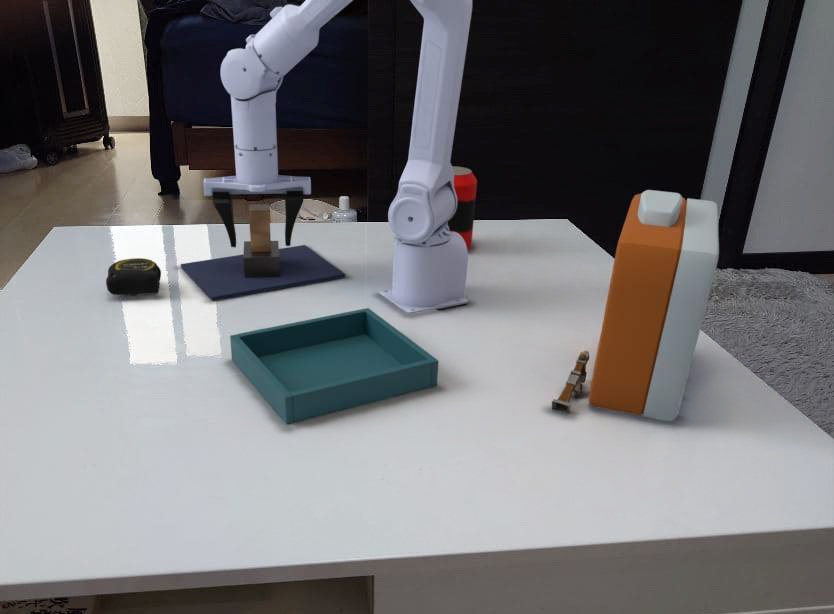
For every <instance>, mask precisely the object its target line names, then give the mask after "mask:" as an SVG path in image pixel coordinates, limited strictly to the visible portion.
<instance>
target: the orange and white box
mask: <svg viewBox="0 0 834 614" xmlns="http://www.w3.org/2000/svg"><path fill="white" fill-rule="evenodd" d="M719 238H720V237H719V208H718V203H716V202H715V201H713V200H705V199H696V198H687V199H686V198H685V197H683V196H682V195H681V194H680V193H678V192H672V191H661V190H653V189H646V190H645V191H643V192H642V193H637V194H635V195H634V196H633V198H632V199H631V202H630V205H629V208H628V211H627V214H626V217H625V220H624V223H623V226H622V229H621V232H620V235H619V238H618V242H617V246H616V250H615V255H614V261H613V266H612V270H611V271H612V272H611V277H610V282H609V288H608V292H607V296H606V303H605V309H604V313H603V320H602V325H601V330H600V337H599V340H598V346H597V350H596V356H595V361H594V367H593V372H592V377H591V381H590V388H589V394H588V401H589V405H591V406H592V407H595V408H599V409H604V410H610V411H612V412H613V411H614V412H620V413H625V414H630V415H634V416H635V415H636V416H639V417H640V416H641V415H642V417H645V418H650V419H656V420H659V421H664V422H665V421H666V422H670V421H675V420H676V418H677V417H678V416H679V412H680V408H681V405H682V401H683V397H684V393H685V389H686V386H687V382H688V378H689V374H690V370H691V366H692V363H693V358H694V354H695V352H696V347H697V343H698V339H699V335H700V331H701V328H702V324H703V320H704V316H705V314H706V313H705V312H706V308H707V306H708V302H709V298H710V293H711V290H712V286H713V282H714V279H715V275H716V270H717V266H718V262H719V258H720V257H719V255H720V241H719V240H720V239H719Z"/></svg>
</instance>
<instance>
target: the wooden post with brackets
mask: <svg viewBox="0 0 834 614" xmlns="http://www.w3.org/2000/svg"><path fill="white" fill-rule="evenodd" d="M589 361H590V352H589V351H588V350H583V351H580V352H579V355H578V358H577V359H576V361H575V366H574V368H573V369H571V371H570V373H569V376H568V378H567V380H566V381H565V386H564V389H563V391H562V392H561V394H560V395H559V396H558V397H557V399H556V398H553V399H552V400H551V409H552V410H553V409H559V410H563V411H565V412H568V413H570V412H571V403H570V401H571V398H575V397H579V396H580V395H579V394H580V391H582V390H583V384H585V382H586V381H587V374H588V373H587V372H588V371H587V364H588V363H589Z"/></svg>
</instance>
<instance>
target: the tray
mask: <svg viewBox="0 0 834 614" xmlns="http://www.w3.org/2000/svg"><path fill="white" fill-rule="evenodd" d="M229 341H230V351H231V352H230V353H231V361H232V362H233V363H234V364H235V365H236V367H237V368H238V370H240V372H241V373H242V374H243V375H244V377H246V379H247V380H248V381H249V382H250V383H251V385H252V386H253V387H254V388H255V389H256V391H257V392H258V393H259V395H261V397H263V399H264V400H265V401H266V402H267V404H268V405H269V406H270V407H271V408H272V409H273V411H274V412H275V413H276V414H277V415H278V417H279V418H280V419H281V420H282V422H284V424H285V425H290V424H294V423H298V422H302V421H306V420H310V419H314V418H317V417H318V418H319V417H321V416H326V415H329V414H333V413H336V412H341V411H345V410H348V409H352V408H356V407H360V406H364V405H368V404H372V403H375V402H380V401H383V400H387V399H392V398H395V397H398V396H403V395H407V394H411V393H415V392H418V391H423V390H426V389H430V388H435V387H437V386H438V377H439V375H438V374H439V373H438V372H439V361H440V360H439V359H437V358H436V357H435V356H433V355H432V354H430V353H429V352H428V351H427V350H425V349H424V348H423V347H421V346H420V345H418V344H417V343H416V342H415V341H413V340H412V339H411V338H409V337H408V336H406V335H405V334H404V333H402V332H401V331H400V330H398V329H397V328H396V327H395V326H393V325H392V324H391V323H389V322H388V321H387V320H385V319H384V318H382V317H381V316H380V315H378V314H377V313H376V312H375V311H373V310H372V309H370V308H369V307H367V308H366V307H365V308H361V309H355V310H351V311H346V312H340V313H336V314H331V315H326V316H319V317H316V318H311V319H305V320H300V321H295V322H291V323H286V324H281V325H275V326H270V327H265V328H261V329H256V330H251V331H250V330H249V331H244V332H241V333H236V334H231V335H230V336H229Z"/></svg>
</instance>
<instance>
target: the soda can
mask: <svg viewBox="0 0 834 614" xmlns="http://www.w3.org/2000/svg"><path fill="white" fill-rule="evenodd" d="M452 167H453V169H454V172H455V175H454V189H455V192H456V195H457V209H456V212H455V214H454V215H453V217H452V218H451V219H450V220H449V221H447V222H448V227H449V230H450V232H457V233H458V234H460V235H461V236H462V238H463V239H464V241H465V243H466V246H467V251H469V250H470V249H471V248H472V242H473V230H474V220H475V209H476V198H477V188H478V187H477V186H478V179H477V178H476V176H475V174H473V171H472V170H471V169H470V168H467V167H463V166H457V165H456V166H453V165H452Z"/></svg>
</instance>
